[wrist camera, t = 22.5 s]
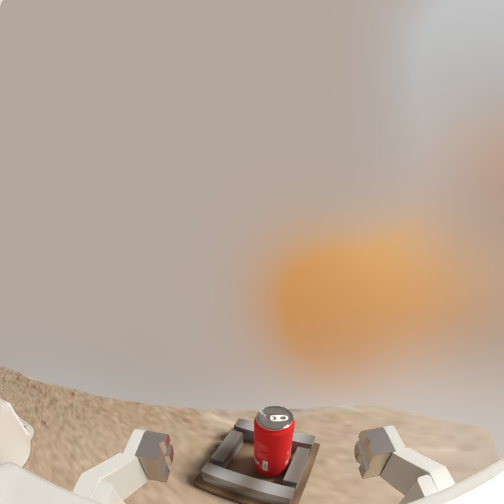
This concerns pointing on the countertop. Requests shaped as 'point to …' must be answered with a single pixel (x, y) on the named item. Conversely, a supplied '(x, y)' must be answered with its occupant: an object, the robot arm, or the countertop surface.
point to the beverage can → (273, 440)
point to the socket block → (247, 477)
